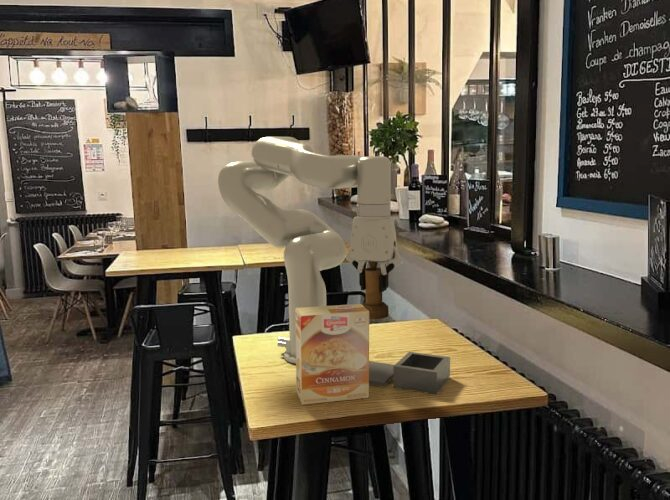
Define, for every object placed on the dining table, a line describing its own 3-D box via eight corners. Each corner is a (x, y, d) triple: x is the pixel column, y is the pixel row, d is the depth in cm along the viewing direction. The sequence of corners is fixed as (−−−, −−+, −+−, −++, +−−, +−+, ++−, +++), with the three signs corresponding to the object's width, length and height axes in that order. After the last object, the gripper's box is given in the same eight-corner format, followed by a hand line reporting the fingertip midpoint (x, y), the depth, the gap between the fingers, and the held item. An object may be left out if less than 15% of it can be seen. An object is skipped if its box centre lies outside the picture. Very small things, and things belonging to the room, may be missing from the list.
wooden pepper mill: (365, 320, 142) (363, 242, 139) (356, 313, 148) (354, 238, 146) (392, 317, 144) (391, 240, 141) (383, 311, 150) (381, 236, 147)
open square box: (393, 387, 141) (393, 366, 140) (409, 371, 150) (409, 351, 150) (436, 394, 136) (437, 372, 136) (449, 377, 146) (450, 357, 145)
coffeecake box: (301, 405, 131) (300, 315, 128) (295, 393, 138) (294, 307, 135) (370, 398, 135) (370, 310, 131) (361, 386, 141) (361, 302, 138)
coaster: (343, 380, 145) (343, 376, 145) (363, 364, 156) (363, 360, 156) (384, 386, 141) (384, 382, 141) (401, 369, 152) (401, 365, 152)
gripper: (333, 211, 142) (334, 290, 145) (403, 214, 135) (402, 296, 138) (347, 208, 149) (347, 283, 152) (414, 211, 142) (413, 289, 145)
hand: (373, 289), depth 145 cm, fingers closed on wooden pepper mill, 3 cm apart
